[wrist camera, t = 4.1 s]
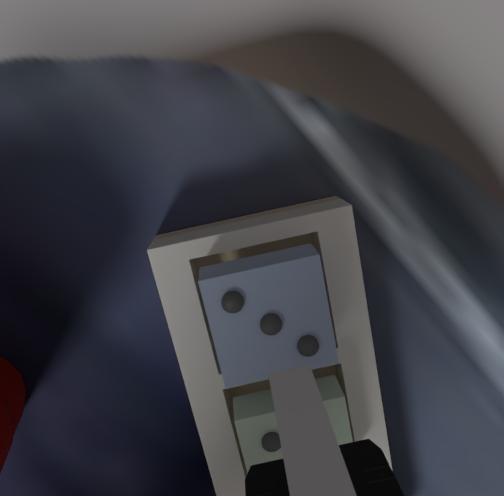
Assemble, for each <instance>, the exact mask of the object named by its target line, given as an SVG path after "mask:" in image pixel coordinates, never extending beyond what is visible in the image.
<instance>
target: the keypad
mask: <svg viewBox="0 0 504 496" xmlns="http://www.w3.org/2000/svg"><path fill="white" fill-rule="evenodd" d="M309 243H311V244H312V245H313V247H314V248H315V249H316V250H317V252H318V253H319V254H320V260H321V266H322V271H323V277H324V283H325V288H326V294H327V299H328V305H329V311H330V316H331V322H332V327H333V333H334V339H335V344H336V350H337V355H338V361H339V363H338V364H333V365H329V366H324V367H320V368H315V369H312V372H313V375H314V378H315V379H317V378H322V377H326V376H331V375H335V376H336V378H337V380H338V383H339V385H340V387H341V389H342V391H343V394H344V396H345V400H346V406H347V412H348V417H349V423H350V428H351V434H352V440H353V442H355V441H360V440H365V439H370V440H371V441H372V442H374V443H375V444H376V445H377V446H378V447H380V448H381V449H382V451H383V453H384V455H385V457H386V459H387V461H388V463H389V466H390V467H391V469H392V464H391V457H390V451H389V444H388V438H387V431H386V425H385V418H384V412H383V405H382V399H381V392H380V386H379V379H378V373H377V366H376V360H375V353H374V347H373V340H372V334H371V327H370V321H369V314H368V308H367V301H366V295H365V288H364V282H363V275H362V269H361V262H360V256H359V249H358V243H357V236H356V230H355V223H354V216H353V210H352V205H351V204H349V203H348V202H346V201H344V200H343V199H341V198H339V197H338V196H332V197H327V198H323V199H318V200H314V201H309V202H304V203H300V204H295V205H291V206H286V207H282V208H277V209H273V210H268V211H264V212H259V213H255V214H250V215H245V216H241V217H236V218H232V219H227V220H223V221H218V222H214V223H209V224H205V225H200V226H196V227H191V228H186V229H182V230H177V231H173V232H168V233H164V234H159V235H156V236H155V237H154V239H153V241H152V242H151V244H150V246H149V247H148V249H147V253H148V256H149V260H150V263H151V267H152V270H153V274H154V277H155V281H156V284H157V288H158V291H159V295H160V298H161V302H162V306H163V309H164V313H165V316H166V320H167V323H168V327H169V330H170V334H171V337H172V341H173V344H174V348H175V351H176V355H177V358H178V362H179V365H180V369H181V372H182V376H183V379H184V383H185V387H186V390H187V394H188V397H189V401H190V404H191V408H192V411H193V415H194V418H195V422H196V425H197V429H198V432H199V436H200V439H201V443H202V446H203V450H204V453H205V457H206V461H207V464H208V468H209V471H210V475H211V478H212V482H213V485H214V489H215V492H216V496H246V494H245V478H246V476H247V470H246V466H245V462H244V458H243V454H242V450H241V447H240V443H239V439H238V435H237V431H236V427H235V423H234V410H233V397H237V396H241V395H246V394H250V393H255V392H259V391H263V390H268V389H271V387H270V381H269V379H266V380H261V381H257V382H253V383H248V384H244V385H239V386H235V387H230V388H225V384H224V380H223V377H222V373H221V369H220V365H219V361H218V357H217V353H216V349H215V345H214V342H213V338H212V334H211V330H210V326H209V322H208V318H207V314H206V311H205V307H204V303H203V299H202V295H201V291H200V287H199V283H198V278H199V271H200V268H201V267H205V266H210V265H214V264H219V263H223V262H228V261H232V260H237V259H241V258H246V257H251V256H255V255H260V254H264V253H269V252H273V251H278V250H282V249H287V248H291V247H296V246H300V245H305V244H309ZM392 471H393V470H392Z"/></svg>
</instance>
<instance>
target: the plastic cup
mask: <svg viewBox="0 0 504 496" xmlns="http://www.w3.org/2000/svg"><path fill="white" fill-rule="evenodd" d="M25 394H26V388H25V385H24V382H23V379H22V376H21V374H20V373H19V372H18V371H17V370H16V369H15V367H14V366H13V365H12V364H11V363H10V362H9V361H7V360H6V359H4V358H2V357H0V473H1V470H2V467H3V465H4V462H5V460H6V457H7V455H8V452H9V450H10V447H11V445H12V441H13V435H14V433H15V430H16V428H17V425H18V423H19V421H20V418H21V416H22V413H23V409H24V403H25Z"/></svg>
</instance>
